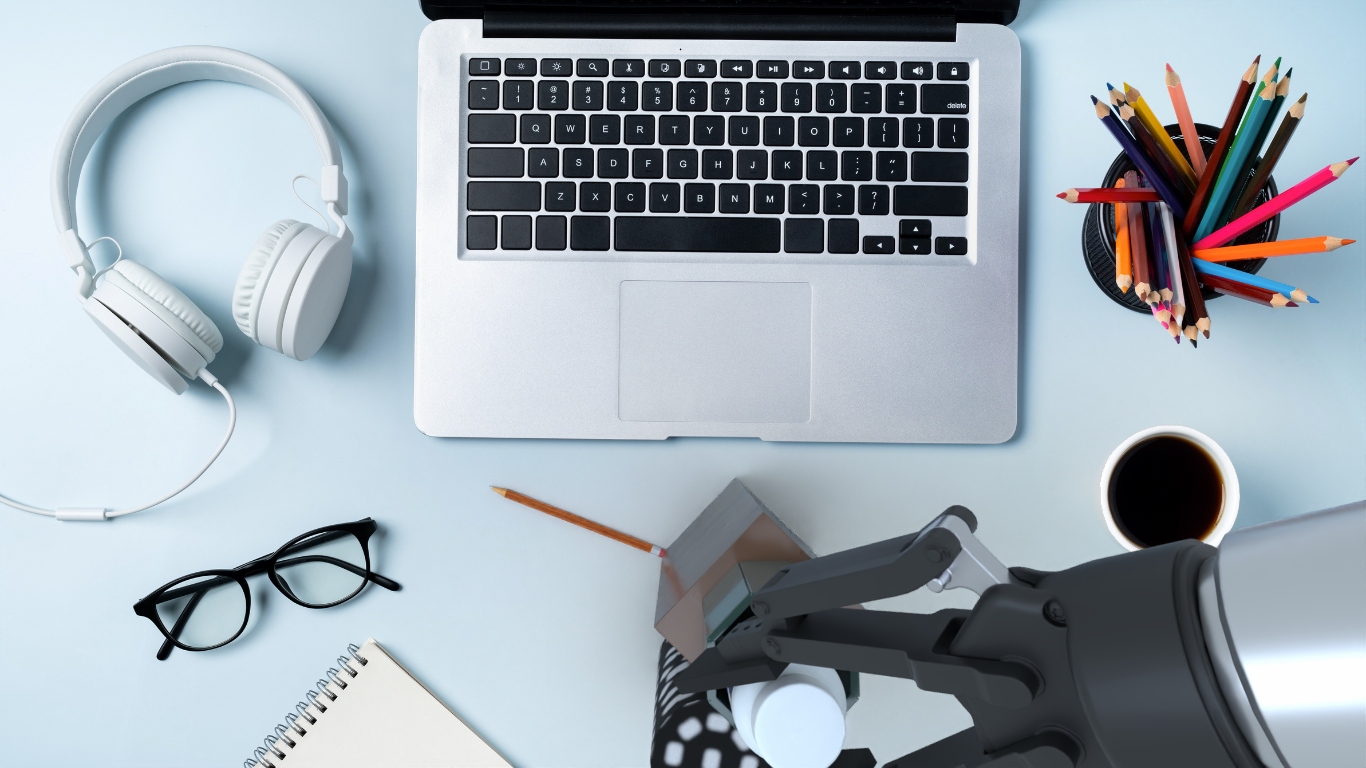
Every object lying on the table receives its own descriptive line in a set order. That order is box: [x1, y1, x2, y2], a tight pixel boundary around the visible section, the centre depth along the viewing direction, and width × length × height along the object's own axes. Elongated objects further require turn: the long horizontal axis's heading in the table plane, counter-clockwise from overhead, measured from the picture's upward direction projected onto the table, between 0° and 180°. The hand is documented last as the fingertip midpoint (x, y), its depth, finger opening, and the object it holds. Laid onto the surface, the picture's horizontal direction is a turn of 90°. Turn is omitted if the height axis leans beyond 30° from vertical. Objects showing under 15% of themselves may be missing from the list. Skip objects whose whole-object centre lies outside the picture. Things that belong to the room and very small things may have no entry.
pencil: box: [489, 486, 667, 559], centre depth 72 cm, size 1×18×1 cm, turn 69°
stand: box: [653, 477, 868, 663], centre depth 60 cm, size 10×10×24 cm
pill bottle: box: [727, 616, 847, 768], centre depth 38 cm, size 5×5×10 cm
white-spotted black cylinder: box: [649, 638, 764, 768], centre depth 62 cm, size 8×8×20 cm
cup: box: [702, 560, 861, 731], centre depth 44 cm, size 8×8×8 cm
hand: (726, 725), depth 38 cm, fingers closed on pill bottle, 5 cm apart
